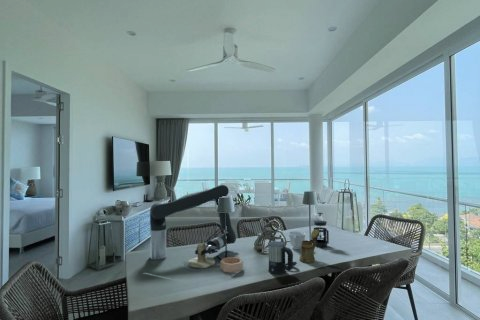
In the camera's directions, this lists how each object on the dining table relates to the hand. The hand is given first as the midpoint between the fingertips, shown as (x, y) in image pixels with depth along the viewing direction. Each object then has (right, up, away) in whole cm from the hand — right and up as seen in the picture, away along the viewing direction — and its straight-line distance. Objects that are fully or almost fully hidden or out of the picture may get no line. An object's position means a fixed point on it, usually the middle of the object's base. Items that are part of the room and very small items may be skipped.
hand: (198, 252), depth 151 cm
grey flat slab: (+1, -8, +2) cm, 8 cm away
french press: (+80, -9, +38) cm, 89 cm away
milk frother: (+46, -8, -5) cm, 47 cm away
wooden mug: (+65, -8, +10) cm, 66 cm away
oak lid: (+1, -7, +2) cm, 7 cm away
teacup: (+61, -8, +32) cm, 70 cm away
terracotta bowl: (+18, -8, -5) cm, 21 cm away
